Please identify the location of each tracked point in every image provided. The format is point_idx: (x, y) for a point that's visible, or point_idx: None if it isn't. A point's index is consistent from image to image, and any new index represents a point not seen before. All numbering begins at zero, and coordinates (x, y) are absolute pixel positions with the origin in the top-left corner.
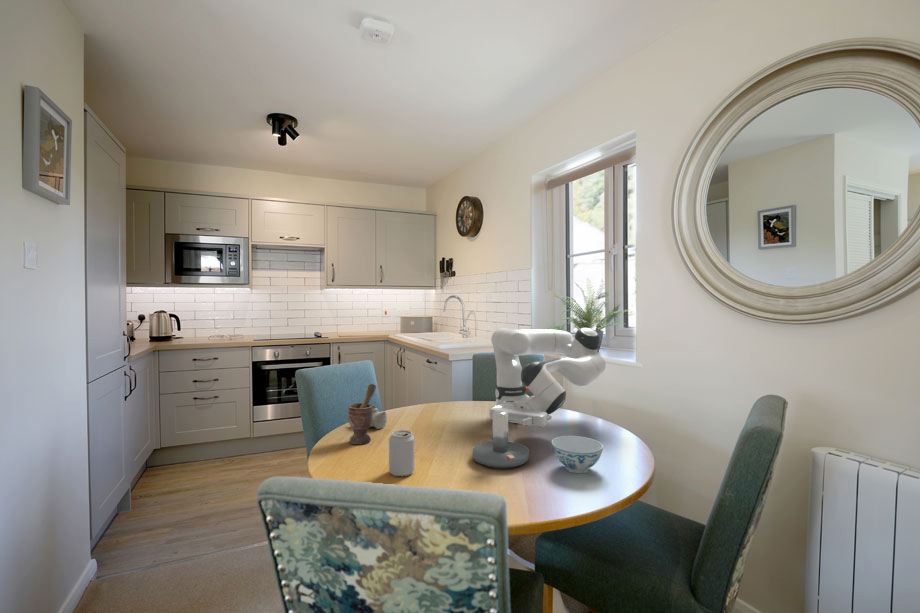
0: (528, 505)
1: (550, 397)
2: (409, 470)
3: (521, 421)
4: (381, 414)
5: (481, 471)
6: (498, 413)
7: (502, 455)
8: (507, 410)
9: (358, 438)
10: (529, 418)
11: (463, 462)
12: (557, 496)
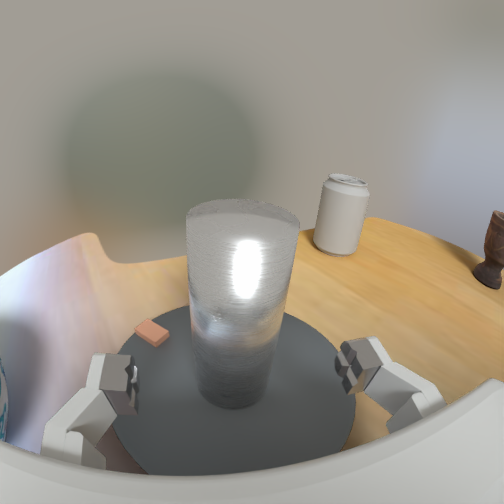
0: (81, 256)
1: None
2: (314, 235)
3: (117, 354)
4: None
5: None
6: (242, 207)
7: (191, 340)
8: (418, 470)
9: (479, 264)
10: (59, 415)
11: None
12: (35, 289)
